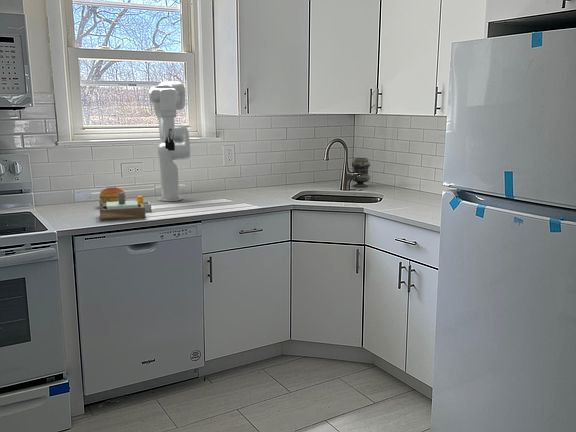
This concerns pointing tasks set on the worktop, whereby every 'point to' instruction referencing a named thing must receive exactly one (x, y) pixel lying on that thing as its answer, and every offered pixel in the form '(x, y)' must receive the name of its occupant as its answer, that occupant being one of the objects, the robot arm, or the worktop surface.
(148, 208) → the clamp corral
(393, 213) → the worktop surface
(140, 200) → the pipe clamp
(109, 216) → the wooden box
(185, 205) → the worktop surface
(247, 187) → the worktop surface
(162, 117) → the robot arm
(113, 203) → the mint green slab
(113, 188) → the burger
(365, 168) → the apothecary jar
